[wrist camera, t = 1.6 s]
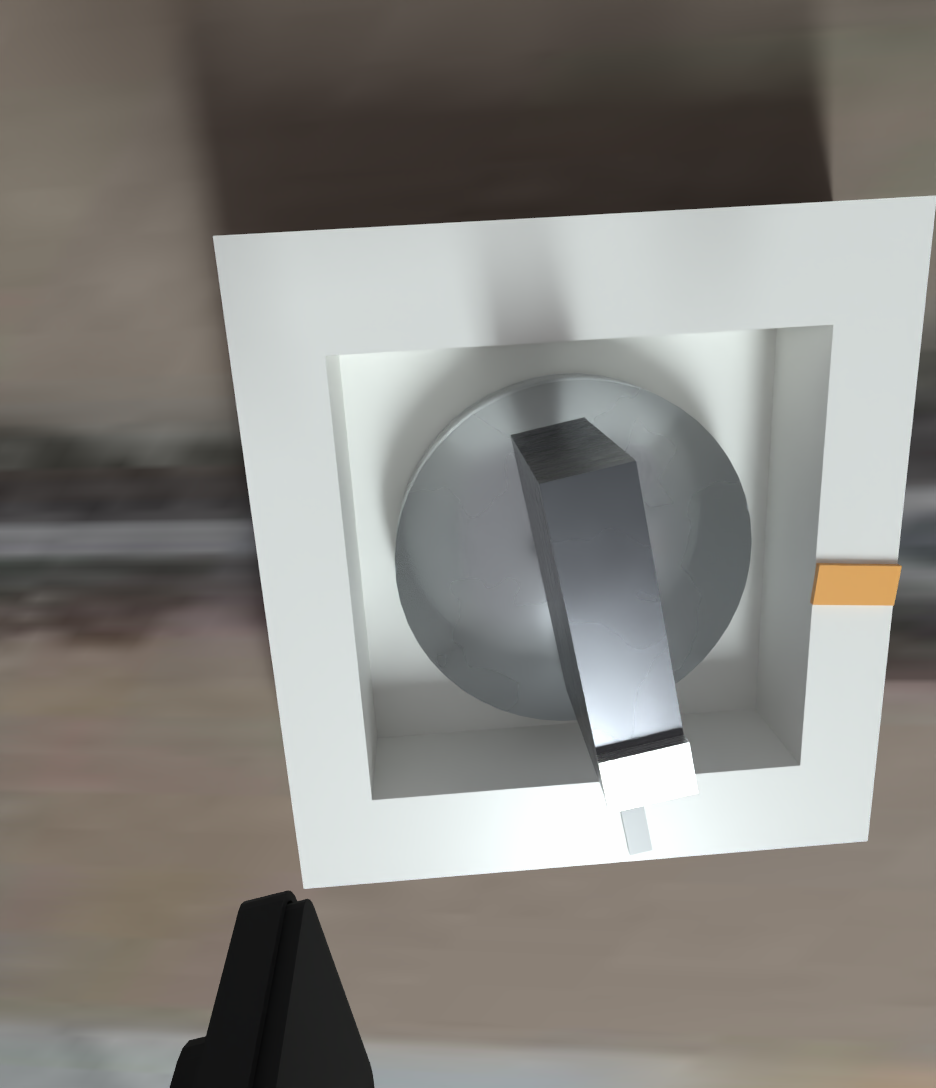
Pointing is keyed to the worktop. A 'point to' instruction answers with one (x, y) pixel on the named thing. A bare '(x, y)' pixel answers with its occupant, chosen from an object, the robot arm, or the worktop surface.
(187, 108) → the worktop surface
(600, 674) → the dial
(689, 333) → the dial housing
